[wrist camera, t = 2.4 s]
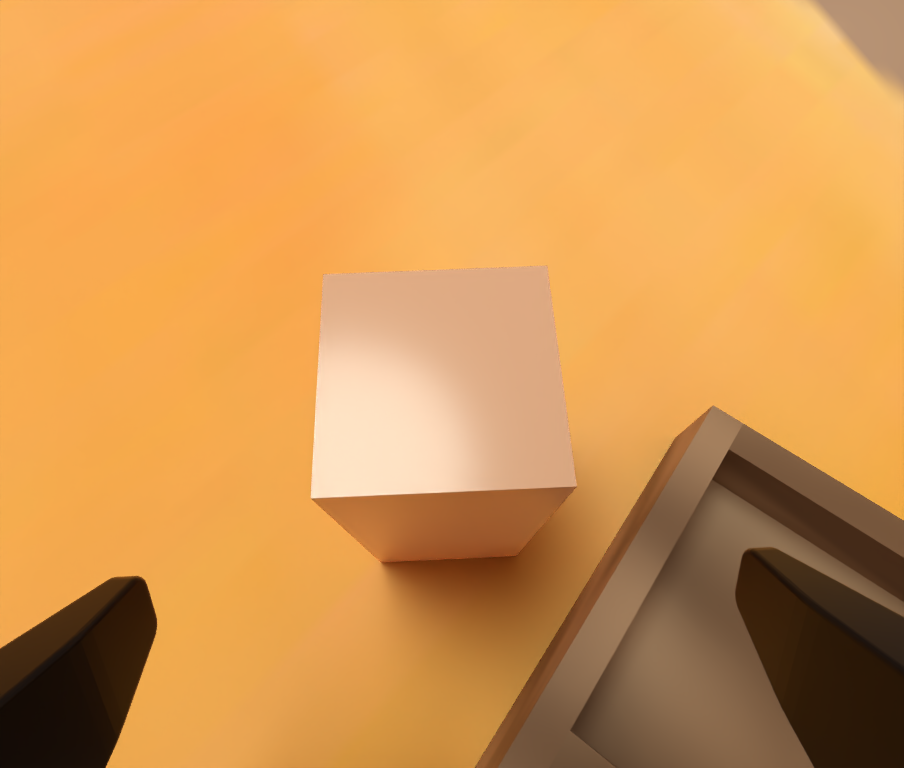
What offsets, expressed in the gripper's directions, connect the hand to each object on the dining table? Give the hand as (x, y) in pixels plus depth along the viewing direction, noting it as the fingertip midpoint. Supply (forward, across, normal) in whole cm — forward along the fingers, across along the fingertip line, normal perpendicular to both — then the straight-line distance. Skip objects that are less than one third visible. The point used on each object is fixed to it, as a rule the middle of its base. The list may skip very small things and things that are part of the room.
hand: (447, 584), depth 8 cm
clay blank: (+10, 0, +5) cm, 11 cm away
